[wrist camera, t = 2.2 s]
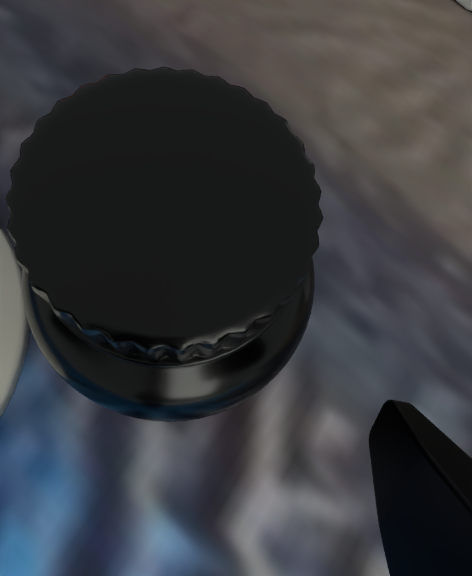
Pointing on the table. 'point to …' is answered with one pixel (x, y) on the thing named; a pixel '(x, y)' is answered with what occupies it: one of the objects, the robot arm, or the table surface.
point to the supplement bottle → (165, 242)
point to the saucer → (11, 322)
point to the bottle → (465, 4)
